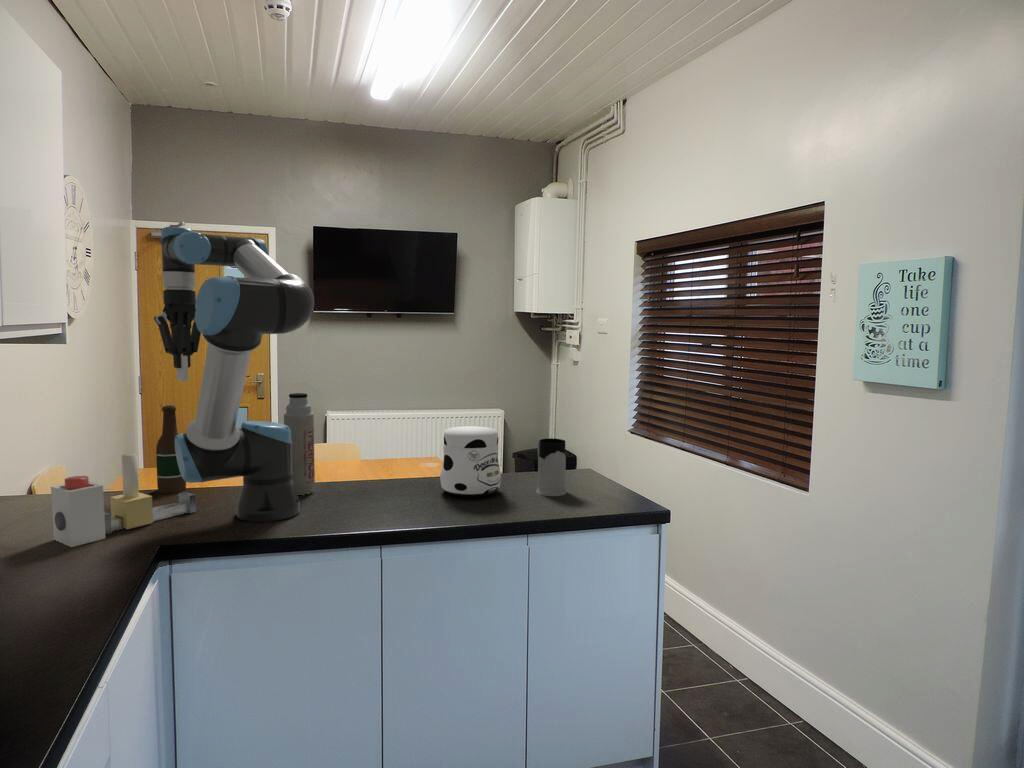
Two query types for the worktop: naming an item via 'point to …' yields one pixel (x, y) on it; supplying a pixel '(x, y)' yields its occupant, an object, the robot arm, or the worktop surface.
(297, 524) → the worktop surface
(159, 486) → the beer bottle
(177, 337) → the robot arm
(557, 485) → the glass holder
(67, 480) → the gauge button
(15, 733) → the worktop surface
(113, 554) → the worktop surface
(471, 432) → the milk container
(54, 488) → the white button housing
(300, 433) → the thermos bottle
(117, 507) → the carriage
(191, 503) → the rail
